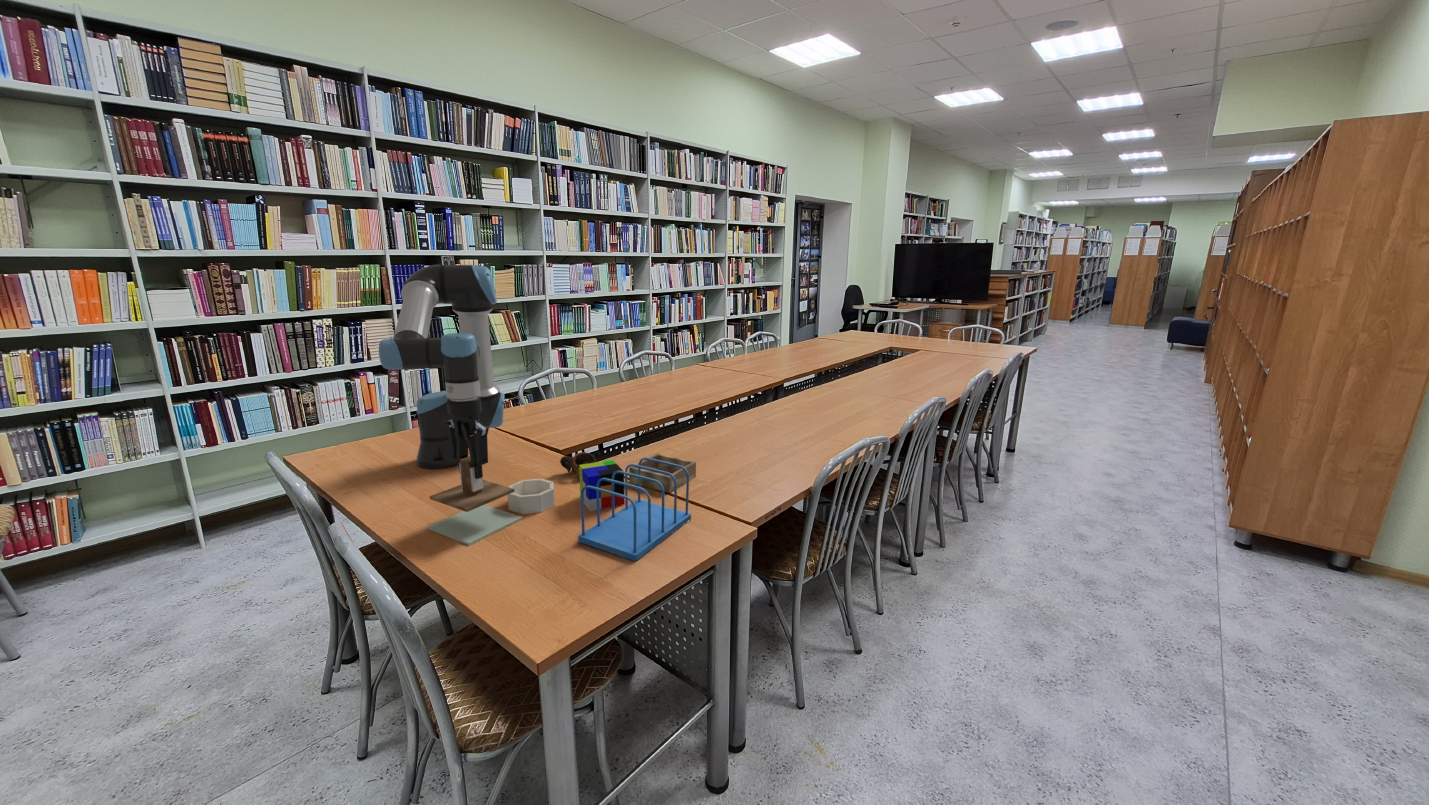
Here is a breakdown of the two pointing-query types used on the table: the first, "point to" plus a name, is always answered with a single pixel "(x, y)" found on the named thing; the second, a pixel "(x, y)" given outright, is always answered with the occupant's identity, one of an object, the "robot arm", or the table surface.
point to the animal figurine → (576, 462)
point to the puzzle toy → (601, 484)
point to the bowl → (531, 496)
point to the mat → (474, 524)
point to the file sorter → (634, 518)
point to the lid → (470, 491)
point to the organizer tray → (663, 479)
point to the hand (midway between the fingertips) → (472, 487)
